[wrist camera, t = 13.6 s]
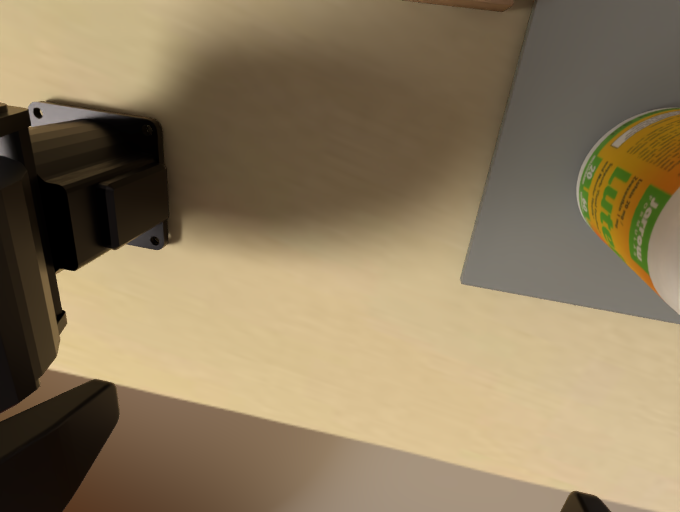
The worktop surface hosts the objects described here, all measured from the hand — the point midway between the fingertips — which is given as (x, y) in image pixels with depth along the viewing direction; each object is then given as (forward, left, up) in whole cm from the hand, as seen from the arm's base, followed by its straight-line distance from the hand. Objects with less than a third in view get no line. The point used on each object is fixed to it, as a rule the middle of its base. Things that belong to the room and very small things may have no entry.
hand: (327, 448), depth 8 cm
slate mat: (+10, +4, -13) cm, 17 cm away
